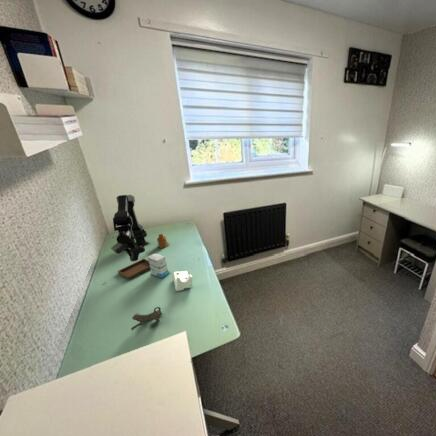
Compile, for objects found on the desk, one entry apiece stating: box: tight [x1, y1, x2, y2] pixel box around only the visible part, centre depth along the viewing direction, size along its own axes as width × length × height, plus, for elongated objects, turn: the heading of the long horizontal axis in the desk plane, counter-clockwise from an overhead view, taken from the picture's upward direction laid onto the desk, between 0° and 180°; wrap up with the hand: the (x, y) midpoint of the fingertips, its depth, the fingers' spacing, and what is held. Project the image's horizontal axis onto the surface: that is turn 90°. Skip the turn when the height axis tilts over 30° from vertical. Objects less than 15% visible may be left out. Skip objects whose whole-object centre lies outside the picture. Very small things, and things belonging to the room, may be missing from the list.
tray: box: [117, 258, 151, 281], centre depth 140 cm, size 11×15×2 cm
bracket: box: [172, 270, 193, 292], centre depth 129 cm, size 13×7×8 cm, turn 31°
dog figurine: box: [130, 306, 163, 331], centre depth 103 cm, size 12×6×7 cm, turn 114°
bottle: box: [156, 233, 169, 249], centre depth 164 cm, size 6×6×9 cm
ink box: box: [147, 253, 169, 279], centre depth 135 cm, size 8×5×12 cm, turn 65°
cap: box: [128, 255, 136, 262], centre depth 137 cm, size 4×4×2 cm
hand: (134, 259), depth 137 cm, fingers closed on cap, 4 cm apart
